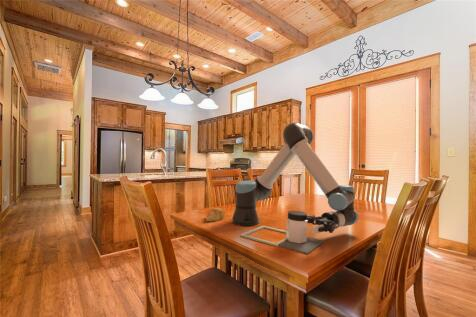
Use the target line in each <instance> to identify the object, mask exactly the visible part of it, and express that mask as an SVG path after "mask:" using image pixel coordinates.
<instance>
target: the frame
mask: <svg viewBox="0 0 476 317" xmlns="http://www.w3.org/2000/svg"><path fill="white" fill-rule="evenodd" d="M263 229H267V230H271V231H274V232H275V231H276V232H278V233H279V232H280V233H284V234H286V230H284V229H280V228H275V227H271V226H267V225H261V226H259V227H256V228H254V229H251V230H249V231H245V232H243V233H241V234H240V237H242V238H245V239H249V240H253V241H256V242H260V243H263V244H266V245H270V246H275V247H276V248H277V247H280V245H281V244H283V243H285V242H287V241H288V239H287V238H286V237H284V238H283V239H281V240H279V241H278V242H273V241H270V240H266V239H262V238H258V237H255V236H252V235H251V234H253V233H256V232H257V231H260V230H263ZM250 235H251V236H250Z"/></svg>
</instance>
